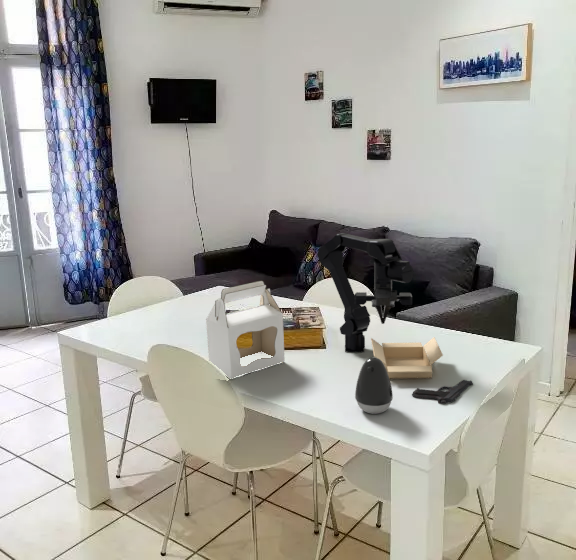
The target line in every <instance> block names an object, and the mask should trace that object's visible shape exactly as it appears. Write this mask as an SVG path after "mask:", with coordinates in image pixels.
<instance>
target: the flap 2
mask: <svg viewBox="0 0 576 560" xmlns="http://www.w3.org/2000/svg"><path fill="white" fill-rule="evenodd" d="M423 346H424V348H425V351H426V353H427V356H428V358H429V360H430V363H431V365H433V364H434V363H435V362H437V361H439V359H440V358H442V357H443V356H444V354H443V351H442V350H441V348H440V346H439V344H438V341H437V340H436V337H432V338H431V339H430V340H428V342H426V343H425V344H424V345H423Z"/></svg>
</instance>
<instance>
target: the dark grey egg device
mask: <svg viewBox="0 0 576 560" xmlns="http://www.w3.org/2000/svg"><path fill="white" fill-rule="evenodd" d="M358 373H359V374H358V378H357V379H356V380H357V381H356V385H355V393H354V395H355V396H354V398H355V401H356V402H357V405H358V407H359V408H360V409H361V410H362V411H364V412H365V413H367V414H371V415H375V414H376V415H377V414H382V413H384V412H385V411H387V410H388V409H389V408H390V406H391V403H392V401H393V397H394V396H393V395H394V394H393V388H392V382H391V379H390V378H389V375H388V372H387V369H386V367H385V365H384V364H383V362H382V361H381V360H380V359H378V358H376V357H374V356H373V357H369V358H367V359H366V360H365V361H364V362H363V364H362V366H361V367H360V370H359V372H358Z"/></svg>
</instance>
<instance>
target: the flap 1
mask: <svg viewBox="0 0 576 560" xmlns="http://www.w3.org/2000/svg"><path fill="white" fill-rule="evenodd" d="M370 340H371V347H372V352H373V357H375V358H378V359H380V360H381V361H382V362H383V363H384V364H385V365H386V361H385V357H384V352H383V346H382V344H380V343H379V342H378V341H376V340H375V339H374V338H372V337H371V338H370Z"/></svg>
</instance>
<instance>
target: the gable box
mask: <svg viewBox="0 0 576 560" xmlns="http://www.w3.org/2000/svg"><path fill="white" fill-rule="evenodd" d="M220 294H221V295H220V297H219V298H217V299H216V300H215V301H214V303H213V306H212V308H211V310H210V311H209V313H208V316H207V317H206V319H205V320H206V322H205V324H206V325H205V326H206V335H207V337H206V338H207V350H208V351H207V353H208V362H209V361H211V362H212V363H213V364H214V365H216V366H217V367H218V368H219V369H221V370H222V371H223V372H224V373H225V374H226V375H227V376H228V377H229V378H231V379H232V378H234V377H236V376H239V375H242V374H245V373H249V372H252V371H255V370H258V369H262V368H265V367H268V366H271V365H274V364H277V363H280V362H284V361H285V358H286V357H285V342H284V341H285V339H284V315H283V312H282V309H281V308H280V307H279V305H278V304H277V302H276V300H275V298H274V297H273V296H272V293H271V288H269V287H268V288H267V285H266V284H265V282H264V281H263V280H258V281H253V282H250V283H243V284H240V285H235V286H231V287H227V288H223V289H222V290H221V293H220ZM257 296H260V299H259V305H257V306H253V307H249V308H245V309H241V310H237V311H234V312H233V311H232V312H229V313H227V311H226V306H225V305H226V304H229V303H231V302H236V301H239V300H244V299H248V298H253V297H257ZM250 332H251V333H252V334H251V340H252V345H251V346H250V347H249V348H238V345H237V339H238V338H239V337H240V336H241V335H243V334H246V333H250ZM261 351H262V352H264V353H266V354H268V355H271V356H273V357H271V358H261V359H257V360H255V361H253V362H251V363H250V364H248V365H247V366H241V364H240V358H242V357H245V356H248V355H252V354H255V353H258V352H261ZM284 363H285V362H284ZM229 378H228V379H229ZM231 379H230V380H231Z"/></svg>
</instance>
